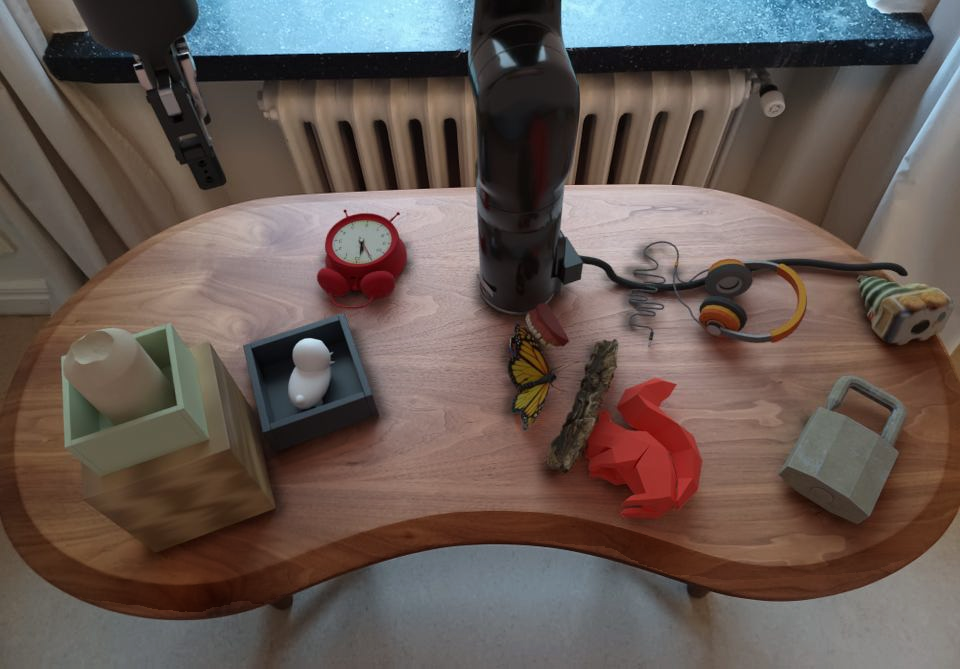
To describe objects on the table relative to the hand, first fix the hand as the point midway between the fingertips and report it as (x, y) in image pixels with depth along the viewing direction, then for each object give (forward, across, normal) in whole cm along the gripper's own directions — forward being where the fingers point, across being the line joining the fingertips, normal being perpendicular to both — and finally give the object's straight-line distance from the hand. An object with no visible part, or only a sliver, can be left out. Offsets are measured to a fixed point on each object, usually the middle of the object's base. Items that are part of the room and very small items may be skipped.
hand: (206, 153), depth 57 cm
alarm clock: (+28, +7, -11) cm, 31 cm away
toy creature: (+28, -8, -1) cm, 29 cm away
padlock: (+26, -40, -44) cm, 65 cm away
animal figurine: (+28, -28, -31) cm, 51 cm away
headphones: (+28, -15, -48) cm, 58 cm away
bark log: (+28, -23, -28) cm, 46 cm away
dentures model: (+21, -13, -27) cm, 37 cm away
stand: (+28, -14, +12) cm, 34 cm away
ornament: (+25, -28, -66) cm, 76 cm away
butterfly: (+26, -18, -26) cm, 41 cm away
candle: (+14, -14, +12) cm, 23 cm away
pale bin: (+14, -14, +12) cm, 23 cm away
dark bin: (+28, -8, -1) cm, 29 cm away
